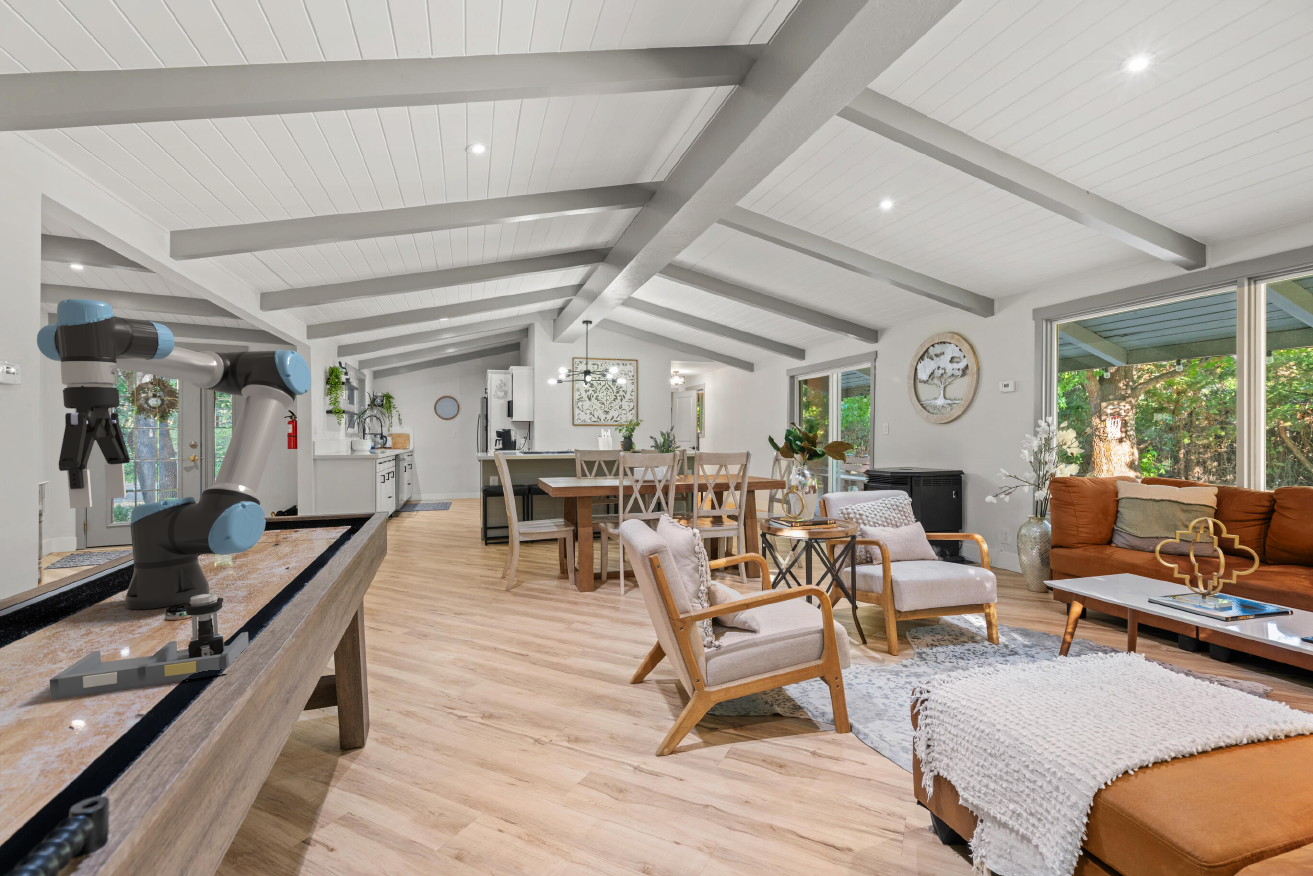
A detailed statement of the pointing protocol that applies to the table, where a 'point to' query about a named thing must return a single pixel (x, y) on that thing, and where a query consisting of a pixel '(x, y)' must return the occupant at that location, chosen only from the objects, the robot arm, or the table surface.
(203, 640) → the push button
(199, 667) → the gray divided compartment tray
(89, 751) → the table surface
